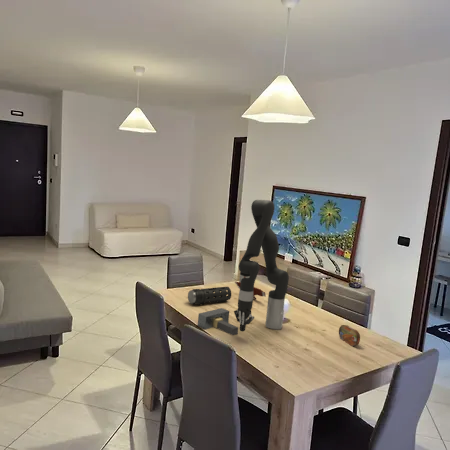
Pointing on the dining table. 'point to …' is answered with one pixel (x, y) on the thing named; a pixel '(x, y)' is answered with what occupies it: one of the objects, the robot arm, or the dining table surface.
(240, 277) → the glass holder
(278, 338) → the dining table surface
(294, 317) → the dining table surface
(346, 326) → the tin
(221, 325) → the plug rod
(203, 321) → the block
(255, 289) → the decorative bird
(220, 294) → the muzzle brake
